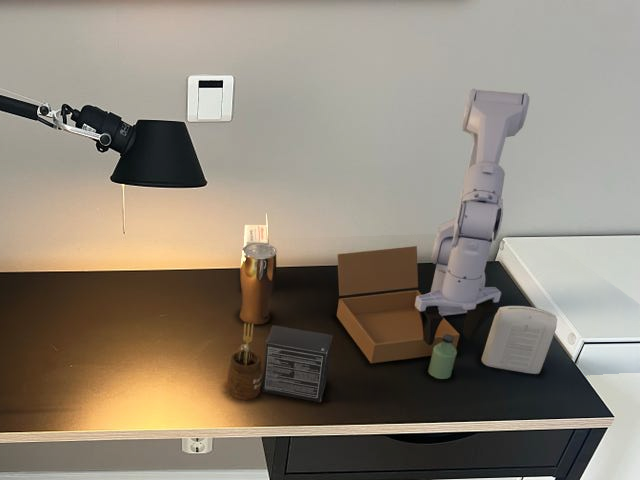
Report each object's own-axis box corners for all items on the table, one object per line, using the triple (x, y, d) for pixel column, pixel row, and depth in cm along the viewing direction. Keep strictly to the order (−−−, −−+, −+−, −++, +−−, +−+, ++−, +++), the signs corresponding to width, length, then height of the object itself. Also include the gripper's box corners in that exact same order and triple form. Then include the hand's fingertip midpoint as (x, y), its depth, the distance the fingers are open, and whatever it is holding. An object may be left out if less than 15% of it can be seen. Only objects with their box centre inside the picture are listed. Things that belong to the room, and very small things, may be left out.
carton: (336, 317, 152) (339, 298, 150) (413, 308, 155) (417, 289, 152) (370, 364, 139) (374, 345, 136) (454, 354, 141) (459, 334, 139)
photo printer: (539, 364, 139) (559, 306, 131) (542, 377, 135) (562, 319, 128) (480, 354, 141) (497, 298, 134) (481, 367, 138) (498, 310, 131)
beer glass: (271, 308, 155) (277, 243, 147) (272, 326, 150) (278, 259, 141) (237, 307, 156) (241, 241, 147) (237, 325, 150) (241, 258, 142)
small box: (327, 382, 135) (334, 333, 129) (321, 404, 130) (328, 354, 124) (268, 371, 138) (273, 322, 131) (260, 392, 133) (265, 342, 126)
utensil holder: (225, 399, 131) (228, 342, 124) (228, 378, 136) (231, 322, 129) (259, 402, 130) (264, 345, 123) (261, 381, 135) (266, 324, 128)
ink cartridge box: (241, 272, 168) (245, 210, 160) (263, 272, 168) (268, 211, 159) (242, 291, 161) (246, 228, 153) (265, 291, 161) (271, 228, 153)
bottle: (443, 366, 138) (453, 329, 134) (454, 378, 135) (464, 342, 131) (423, 368, 138) (432, 332, 133) (434, 381, 135) (443, 344, 130)
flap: (339, 296, 149) (339, 295, 150) (418, 287, 152) (417, 287, 152) (338, 254, 148) (337, 254, 148) (416, 246, 150) (416, 246, 151)
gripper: (436, 287, 120) (419, 357, 128) (518, 278, 122) (497, 347, 130) (415, 267, 126) (401, 334, 134) (495, 258, 128) (476, 325, 136)
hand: (447, 339), depth 132 cm, fingers open, 7 cm apart
